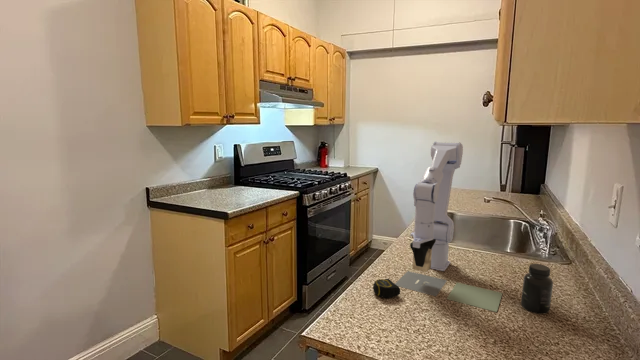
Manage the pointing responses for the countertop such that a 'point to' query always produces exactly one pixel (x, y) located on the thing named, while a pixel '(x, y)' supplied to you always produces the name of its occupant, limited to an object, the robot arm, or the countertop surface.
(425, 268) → the birch block
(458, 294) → the olive mat
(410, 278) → the tile
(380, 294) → the tape measure
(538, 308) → the supplement bottle
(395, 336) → the countertop surface
